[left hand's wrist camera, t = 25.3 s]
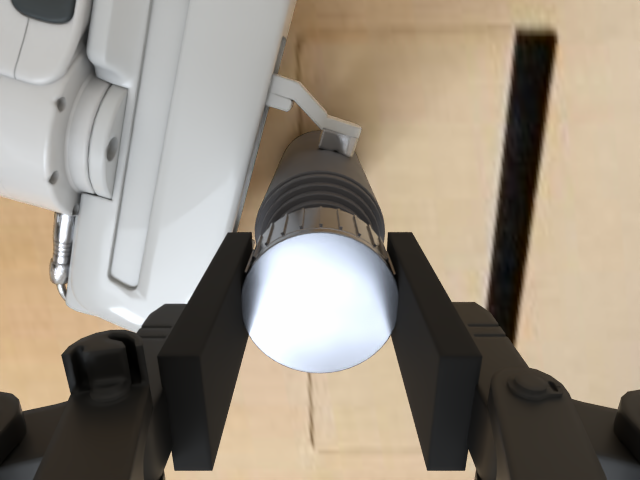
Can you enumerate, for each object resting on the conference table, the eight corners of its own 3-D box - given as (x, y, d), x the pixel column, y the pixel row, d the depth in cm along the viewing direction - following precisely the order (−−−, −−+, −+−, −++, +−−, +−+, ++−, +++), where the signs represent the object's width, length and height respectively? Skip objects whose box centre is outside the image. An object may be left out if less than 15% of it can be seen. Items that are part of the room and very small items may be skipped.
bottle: (264, 158, 29) (195, 266, 13) (332, 114, 28) (350, 172, 12) (307, 222, 30) (294, 391, 14) (373, 183, 29) (438, 317, 13)
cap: (237, 316, 15) (223, 356, 13) (266, 188, 13) (256, 210, 11) (366, 345, 15) (374, 389, 13) (408, 224, 14) (424, 252, 12)
